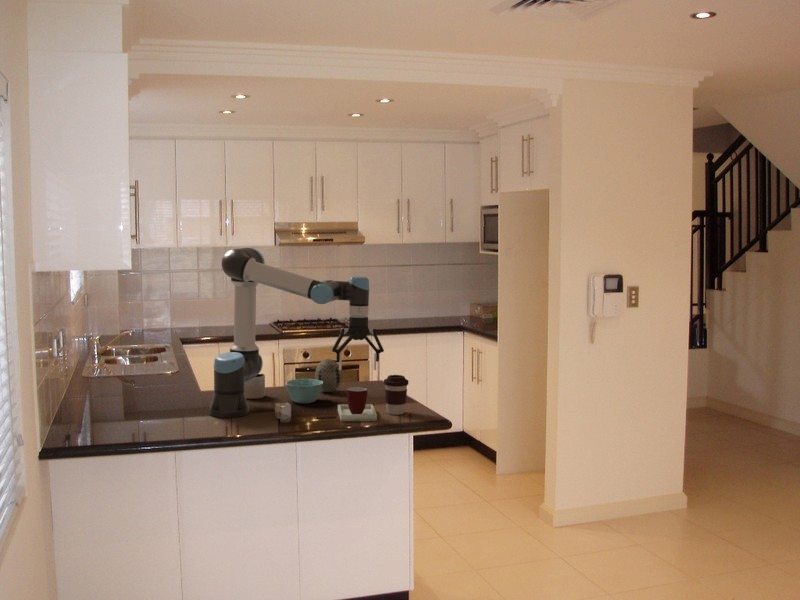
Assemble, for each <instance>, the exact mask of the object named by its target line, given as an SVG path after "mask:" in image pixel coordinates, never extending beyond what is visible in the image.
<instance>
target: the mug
mask: <svg viewBox="0 0 800 600" xmlns="http://www.w3.org/2000/svg"><path fill="white" fill-rule="evenodd" d="M367 398H368V388H366V387H361V386H352V387H347V388H346V400H347V405H348V407H349V410H350V412H351V414H362V413H363V411H364V409H365V405H366V404H367Z"/></svg>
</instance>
